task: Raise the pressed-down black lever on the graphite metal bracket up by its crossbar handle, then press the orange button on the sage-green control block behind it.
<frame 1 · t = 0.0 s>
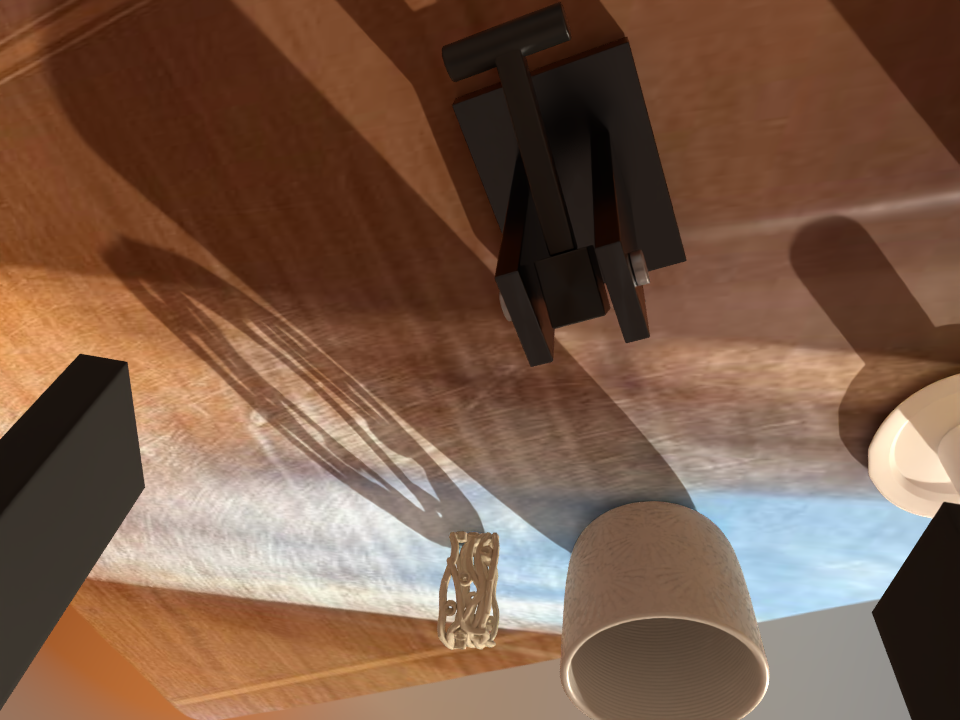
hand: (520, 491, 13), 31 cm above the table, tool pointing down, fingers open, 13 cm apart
bracket: (574, 177, 43), on the table
planter: (649, 543, 57), on the table
lever: (542, 174, 32), point 10 cm above the table, hinge at -25.0°
bracelet: (479, 544, 59), on the table
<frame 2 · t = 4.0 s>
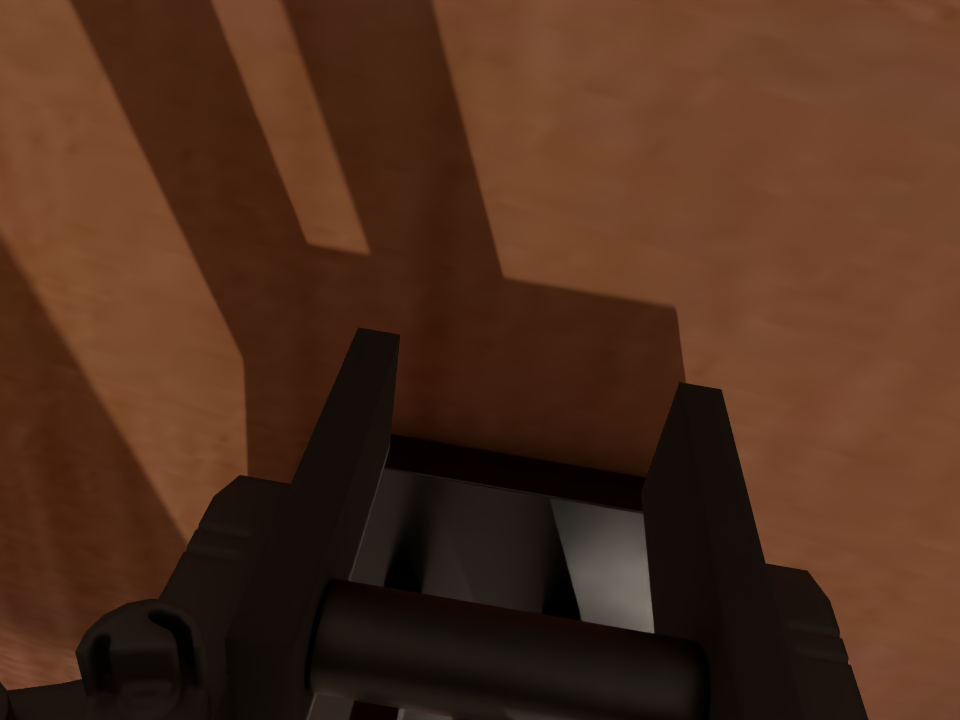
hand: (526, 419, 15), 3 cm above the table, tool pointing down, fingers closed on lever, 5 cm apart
bracket: (475, 616, 22), on the table
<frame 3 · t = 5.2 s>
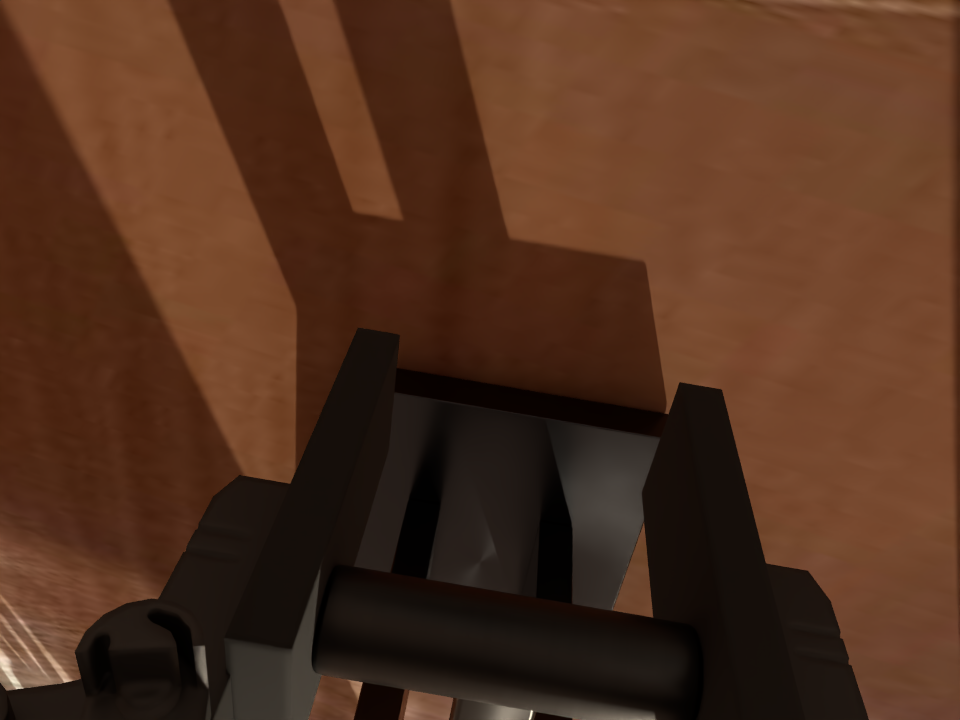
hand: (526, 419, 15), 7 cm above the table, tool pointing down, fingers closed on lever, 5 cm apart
bracket: (484, 533, 26), on the table
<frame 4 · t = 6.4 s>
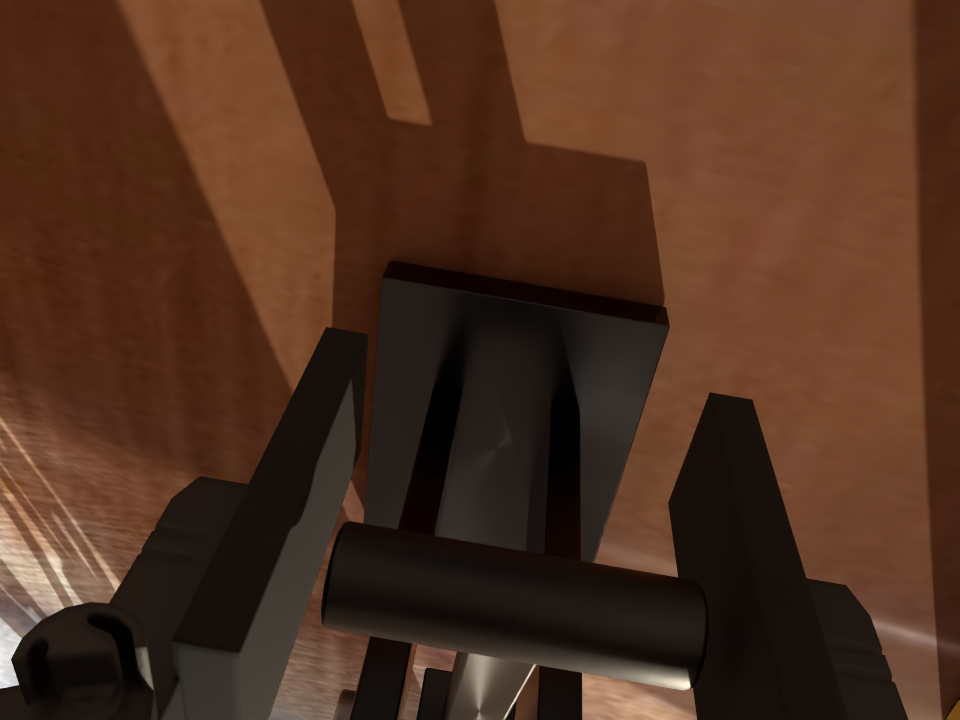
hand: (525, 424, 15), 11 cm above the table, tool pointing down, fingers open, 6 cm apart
bracket: (499, 427, 29), on the table
lever: (477, 695, 15), point 14 cm above the table, hinge at 19.9°
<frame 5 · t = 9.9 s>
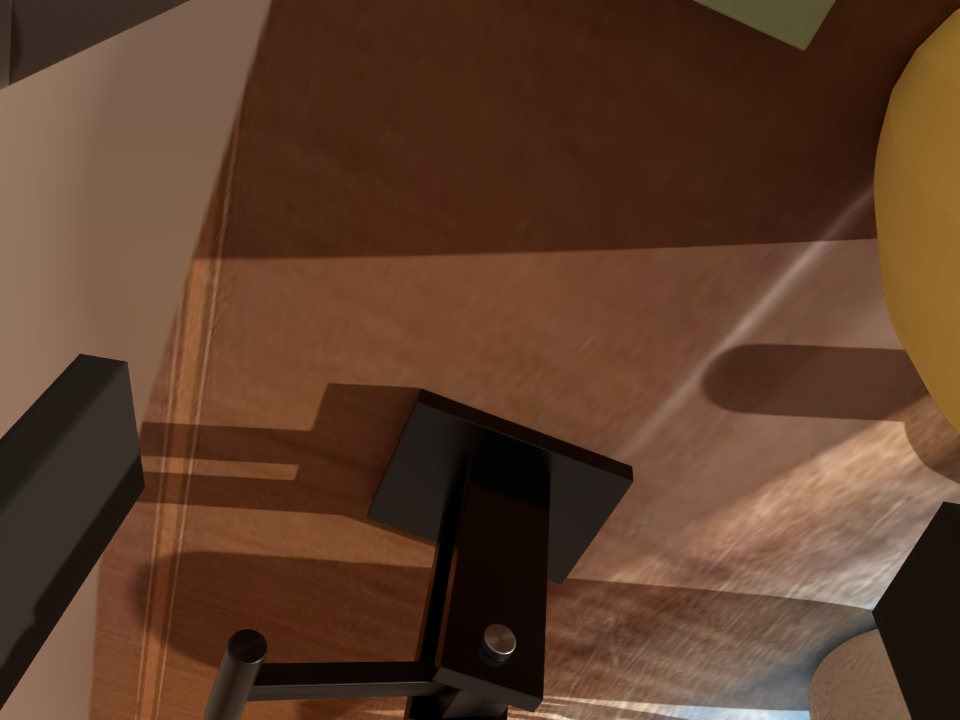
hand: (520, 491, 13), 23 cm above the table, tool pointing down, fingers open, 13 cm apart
bracket: (496, 485, 44), on the table
planter: (896, 664, 50), on the table
lever: (369, 679, 32), point 14 cm above the table, hinge at 19.9°
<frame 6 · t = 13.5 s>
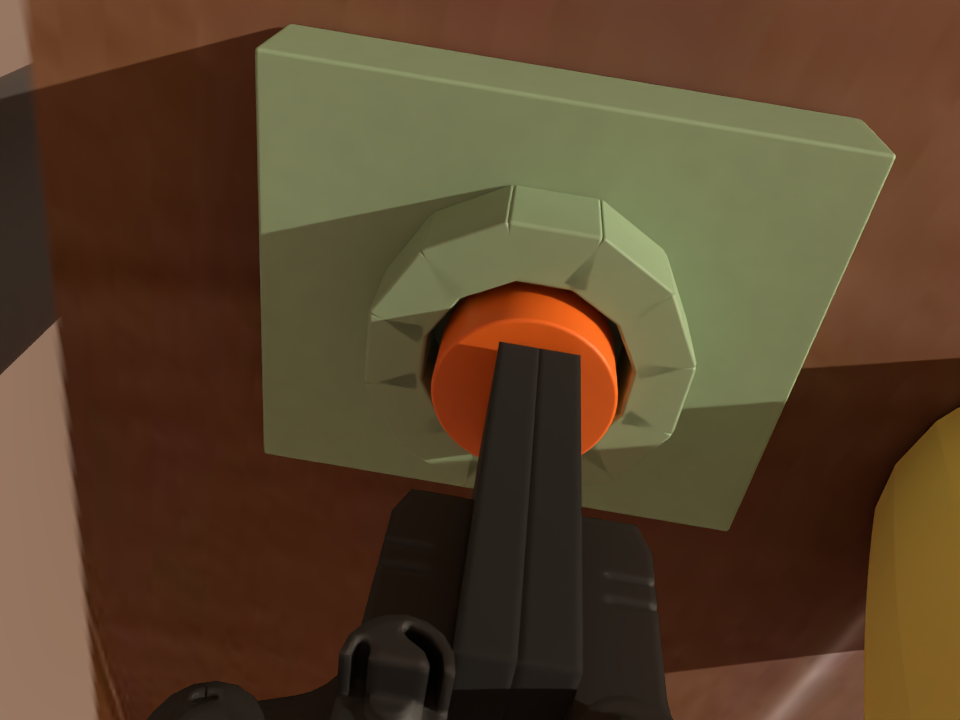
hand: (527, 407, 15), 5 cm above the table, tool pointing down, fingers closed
button: (525, 373, 16), point 4 cm above the table, slide at -0.5 cm, touching gripper
control block: (533, 281, 19), on the table
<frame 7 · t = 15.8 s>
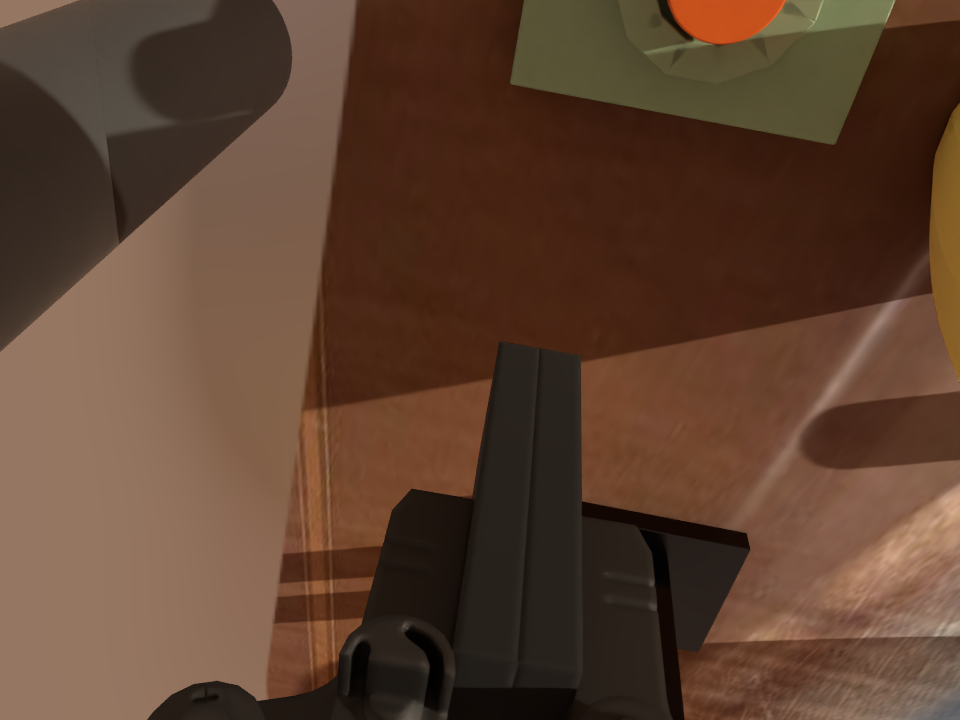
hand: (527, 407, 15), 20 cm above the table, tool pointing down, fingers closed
bracket: (616, 567, 46), on the table
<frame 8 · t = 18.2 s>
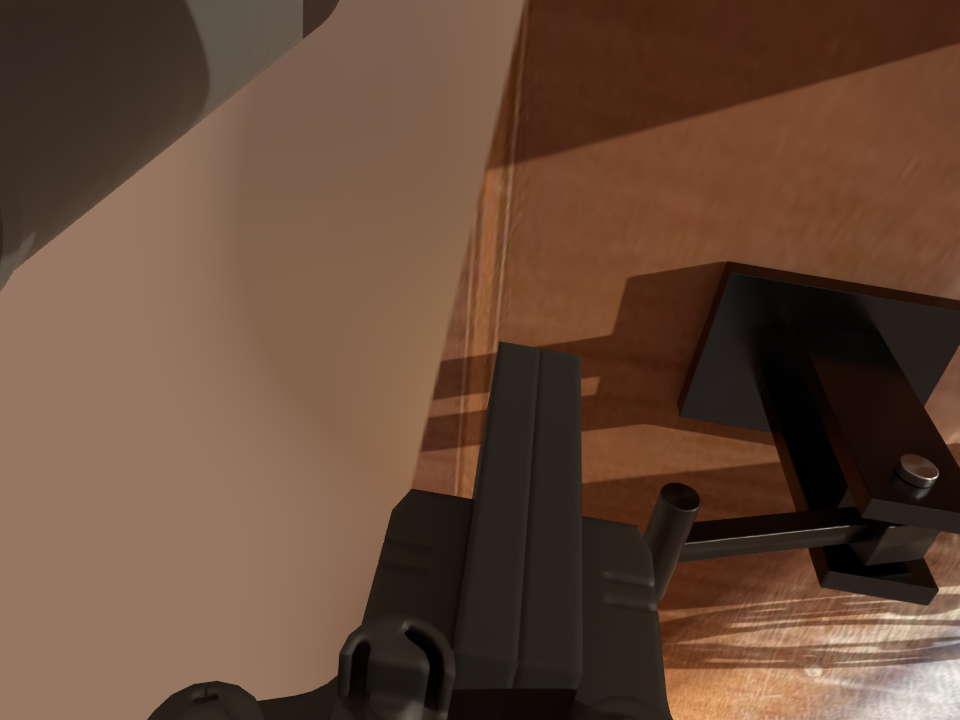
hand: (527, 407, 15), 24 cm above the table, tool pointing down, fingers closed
bracket: (813, 355, 42), on the table
lever: (786, 531, 31), point 14 cm above the table, hinge at 19.9°
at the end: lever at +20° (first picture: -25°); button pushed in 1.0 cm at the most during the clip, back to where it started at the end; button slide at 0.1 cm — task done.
